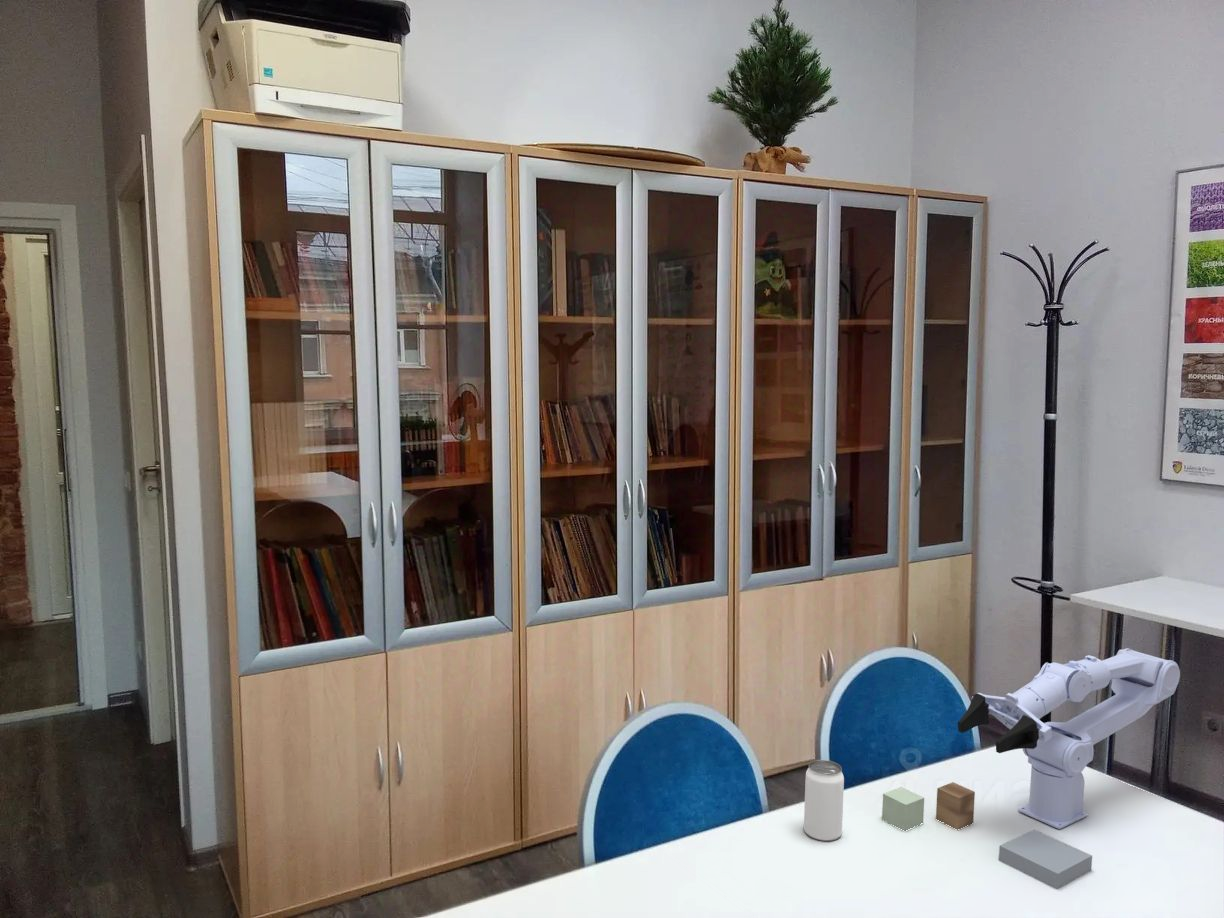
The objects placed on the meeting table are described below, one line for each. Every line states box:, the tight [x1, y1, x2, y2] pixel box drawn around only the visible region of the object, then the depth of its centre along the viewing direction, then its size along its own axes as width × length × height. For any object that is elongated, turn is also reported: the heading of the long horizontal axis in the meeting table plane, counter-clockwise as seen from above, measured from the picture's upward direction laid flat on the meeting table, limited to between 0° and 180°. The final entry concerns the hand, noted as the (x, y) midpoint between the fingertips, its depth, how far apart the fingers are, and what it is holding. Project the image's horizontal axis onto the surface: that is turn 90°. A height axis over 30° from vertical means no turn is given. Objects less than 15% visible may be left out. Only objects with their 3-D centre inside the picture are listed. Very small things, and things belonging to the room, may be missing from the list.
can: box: [803, 759, 845, 842], centre depth 158 cm, size 6×6×12 cm
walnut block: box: [935, 781, 976, 831], centre depth 162 cm, size 4×4×6 cm
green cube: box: [881, 786, 925, 832], centre depth 162 cm, size 5×5×5 cm
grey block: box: [998, 829, 1093, 890], centre depth 149 cm, size 10×10×3 cm
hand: (978, 737), depth 154 cm, fingers open, 7 cm apart
